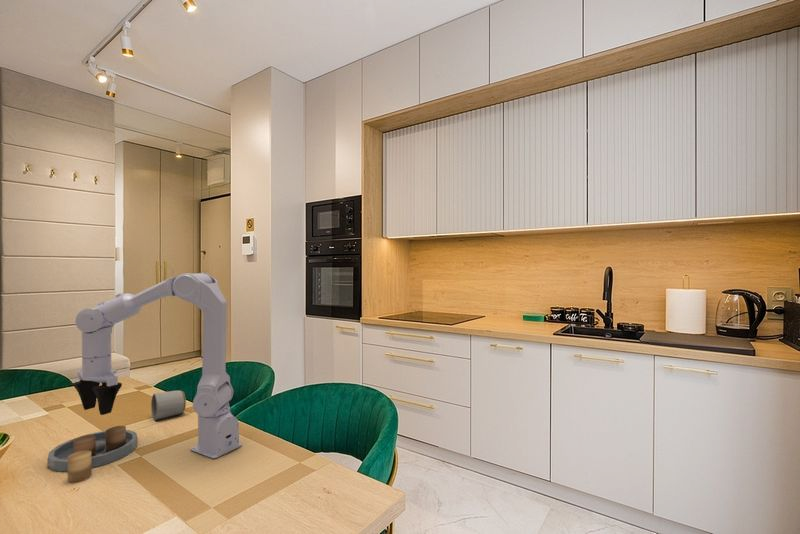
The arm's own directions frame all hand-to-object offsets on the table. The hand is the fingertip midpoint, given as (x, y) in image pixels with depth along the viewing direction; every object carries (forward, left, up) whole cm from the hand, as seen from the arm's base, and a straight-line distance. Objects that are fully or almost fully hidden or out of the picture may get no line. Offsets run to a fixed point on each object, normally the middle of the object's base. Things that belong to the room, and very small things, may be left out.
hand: (97, 411), depth 97 cm
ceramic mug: (+9, -22, -10) cm, 26 cm away
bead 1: (-4, +5, -9) cm, 11 cm away
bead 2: (-11, +8, -10) cm, 17 cm away
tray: (-1, +1, -10) cm, 10 cm away
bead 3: (-5, -2, -9) cm, 10 cm away
